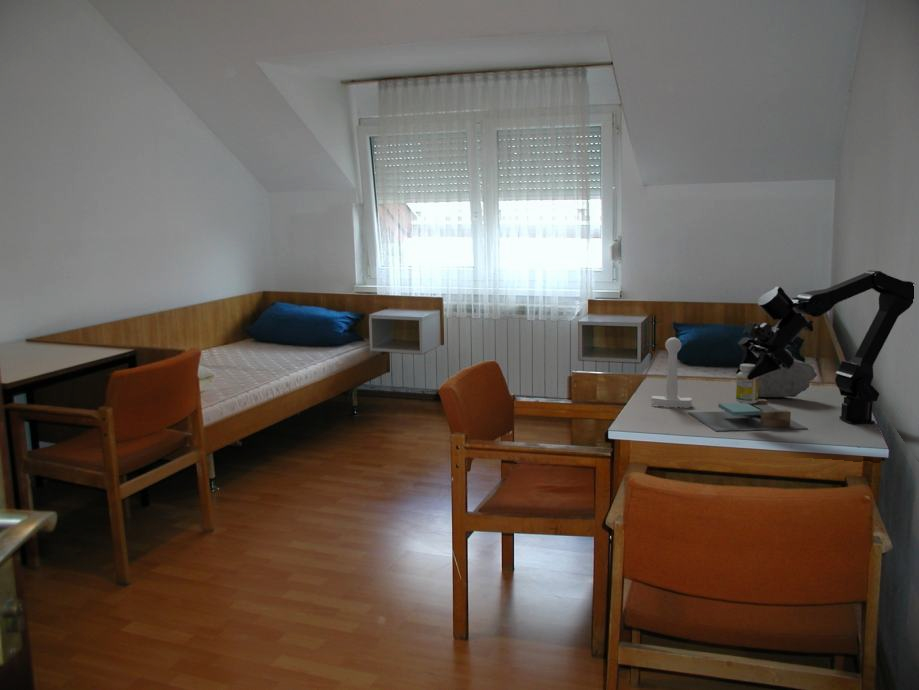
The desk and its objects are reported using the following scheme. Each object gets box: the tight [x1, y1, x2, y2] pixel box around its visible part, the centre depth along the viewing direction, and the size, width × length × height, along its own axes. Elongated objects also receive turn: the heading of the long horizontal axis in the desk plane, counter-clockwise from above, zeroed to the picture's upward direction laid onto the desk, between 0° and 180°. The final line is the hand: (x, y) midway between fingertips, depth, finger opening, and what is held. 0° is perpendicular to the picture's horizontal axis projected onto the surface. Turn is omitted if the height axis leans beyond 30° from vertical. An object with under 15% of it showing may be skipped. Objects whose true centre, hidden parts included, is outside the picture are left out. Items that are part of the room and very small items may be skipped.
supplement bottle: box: [735, 363, 759, 404], centre depth 206 cm, size 5×5×10 cm
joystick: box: [650, 336, 693, 409], centre depth 232 cm, size 11×8×20 cm
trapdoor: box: [718, 402, 778, 416], centre depth 213 cm, size 14×10×3 cm
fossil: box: [758, 348, 818, 398], centre depth 240 cm, size 17×7×15 cm, turn 69°
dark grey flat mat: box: [688, 398, 808, 433], centre depth 213 cm, size 24×20×4 cm
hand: (742, 376), depth 206 cm, fingers closed on supplement bottle, 5 cm apart
